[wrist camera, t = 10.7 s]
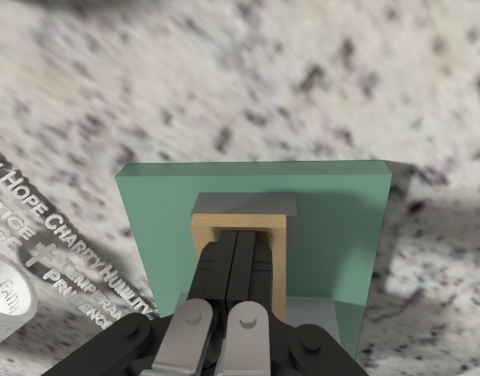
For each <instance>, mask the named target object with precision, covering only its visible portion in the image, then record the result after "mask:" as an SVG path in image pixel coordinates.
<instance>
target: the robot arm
mask: <svg viewBox="0 0 480 376" xmlns="http://www.w3.org/2000/svg"><path fill="white" fill-rule="evenodd" d="M196 268H197V269H196V271H195V274H194V277H193V280H192V283H191V287H190V290H189V293H188V296H187V299H186V301H185V302H183V303H182V304H181V305H180V306H179V307H178V308H177V309H176V311H175V313H173V314H171V315H169V316H166V317H162V318H158V319H154V320H149V318H148V317H147V316H146V315H144V314H142V313H130V314H127V315H125V316H123V317H121V318H120V319H119V320H117V321H116V322H114V323H113V324H112V325H110V326H109V327H107V328H106V329H105V330H103V331H102V332H101V333H99V334H98V335H96V336H95V337H94V338H92V339H91V340H89V341H88V342H87V343H85V344H84V345H83V346H81V347H80V348H78V349H77V350H76V351H74V352H73V353H71V354H70V355H69V356H67V357H66V358H65V359H63V360H62V361H60V362H59V363H58V364H56V365H55V366H53V367H52V368H51V369H49V370H48V371H47V372H45V373H44V374H42V375H41V376H217V375H218V370H219V366H220V362H221V350H222V344H223V339H226V347H225V358H224V370H223V376H369V375H368V374H367V373H366V372H365V371H364V370H363V369H362V368H361V367H360V366H359V365H358V364H357V362H356V361H355V360H354V359H353V358H352V357H351V356H350V355H349V354H348V353H347V352H346V351H345V350H344V349H343V348H342V347H341V346H340V344H339V343H338V342H337V341H336V340H335V339H334V338H333V337H332V336H331V335H330V334H329V333H328V332H327V331H326V330H325V329H324V328H322V327H320V326H318V325H315V324H302V325H300V326H298V327H293V326H291V325H288V324H286V323H283V322H282V321H280V320H279V319H278V318H276V316H275V315H274V314H273V312H272V291H273V258H272V250H271V248H270V246H269V244H268V243H257V242H256V231H239V233H238V231H237V230H221V233H220V236H219V240H218V242H208V244H207V245H206V246H205V247H204V248H203V249H202V251H201V255H200V258H199V261H198V264H197V267H196Z"/></svg>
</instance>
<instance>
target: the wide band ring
mask: <svg viewBox="0 0 480 376" xmlns="http://www.w3.org/2000/svg"><path fill="white" fill-rule="evenodd" d="M3 165H4V164H3V163H0V167H2V166H3ZM15 173H17V172H16V171H15V170H13V171H12V172H10V173H9V174H7V175H6V176H4V177H3V178H1V179H0V183H2V182H3V181H5V180H6V179H8V180H9V181H10V182H11V183H12V184H11V185H9V186H8V187H6V189H7V190H10V189H11V188H13V187H14V186H16V185H17V184H19V183H20V182H22V181H23V180H24V179H23V178H22V177H21V178H20V179H18V180H17V181H16V180H15V179H14V178H13V177H12V175H14V174H15ZM19 189H24V190H25V191H26V194H24V195H18V193H17V191H18V190H19ZM29 193H30V189H29V188H28V187H27V186H25V185H21V186H19V187H17V188H16V189H15V190H14V191H13V195H14V196H15V197H16V198H17V199H23V198H25V197H27V196H28V195H29ZM32 198H34V199H35V201H32V200H31V199H32ZM26 202H29V203H30V204H31V205H36V204H37V203H38V202H39V198H38V197H37V196H36V195H35V194H33V195H31V196H30V197H28V198H27V199H25V200H24V201H23V202H22V204H25V203H26ZM41 206H42V207H43V208H44V209H45V210H46V211H47V210H48V209H49V208H48V207H47V206H46V205H45V204H44V203H43V202H42V203H40V204H39V205H37V206H36V207H34V208H33V209H32V210H31V212H32V213H33V214H34V215H35V216H36V217H39V216H40V214H39V213H38V212H37V211H36V210H38V211H39V212H40V213H43V212H44V210H43V209H42V208H41ZM3 207H4V208H5V209H6V210H8V209H9V207H8V206H7V205H6V204H5V203H4V202H3V201H2V200H1V199H0V209H1V208H3ZM13 212H14V211H13V210H10V211H8V212H7V213H5V214H4V215H2V216H1V218H2V219H5V218H6V217H8V216H9V215H11V214H12V213H13ZM53 218H58V219H59V220H60V222H59V223H60V224H62V223H63V221H64V218H63V217H62V216H61V215H60V214H52V215H51V216H49V217H48V218H47V219H46V221H45V225H46V227H47V228H49V229H56V227H57V226H56V224H55V225H51V224H50V223H49V221H50V220H51V219H53ZM14 219H16V220H18V221H19V222H20V225H21V226H23V225H24V221H23V220H22V218H20V217H19V216H16V215H14V216H11V217H10V218H9V219H8V224H9V225H10V226H11V227H12V228H14V229H19V228H20V227H19V225H15V224H13V222H12V220H14ZM65 227H66V224H64V225H62V226H61V227H60V228H58V229H57V230H55V231H54V234H57V233H58V232H61V233H62V235H60V236H59V239H62V241H63V242H65V241H67V242H68V243H69V244H68V247H69V248H70V247H71V245H72V244H73V242H74V241H75V239H76V238H77V235H76V234H74V235H71V236H68V237H65V236H66V235H67V234H69V233H70V232H71V229H69V230H67V231H65V230H64V228H65ZM0 230H2V231H4V232H5V234H4V233H3V232H1V233H0V240H2V241H3V240H4V239H6V238H7V236H9V235H10V232H9V230H8V229H7V228H5V227H4V226H0ZM28 230H29V231H30V232H31V233H30V232H29V231H28ZM24 232H25V233H26V234H27V235H28V236H29V237H31V236H32V235H35V234H36V232H35V231H34V230H33V229H32V228H31V227H30V226H29V225H27V226H26V227H24V228H23V229H21V230H20V231H19V232H18V233H19V234H20V235H21V236H22V237H23V238H25V239H26V240H28V239H29V237H28V236H27V235H26V234H25V233H24ZM63 237H65V238H63ZM70 239H72V240H70ZM10 243H11V244H12V245H13V246H14V247H13V246H12V245H11V244H10ZM4 244H5V245H6V246H7V247H8V248H10V249H11V250H12V251H14V250H15V249H16V248H17V247H18V246H19V245H20V246H21V245H22V244H23V243H22V242H21V241H20V240H19V239H18V238H17V237H15V236H13V237H11V238H10V239H8V240H7V241H6V242H5V243H4ZM18 244H19V245H18ZM80 244H81V245H82V246H83V247H81V246H80ZM15 247H16V248H15ZM76 247H77V252H76V255H77V256H78V254H79V251H80V250H81V251H83V250H85V249H86V244H85V243H84V242H83V241H82V240H80V241H79V242H77V243H76V244H75V245H73V246H72V247H71V250H74V249H75V248H76ZM36 248H37V249H38V250H39V251H40V253H38V254H37V255H36V256H34V257H33V258H31V259H30V260H29V261H27V262H26V264H25V265H26V266H28V267H30V266H31V265H33V264H34V263H35V262H37V261H38V260H40V259H41V258H42V257H44V256H46V257H47V258H48V259H49V260H50V261H51V260H53V259H54V258H55V255H54V254H52V253H51V251H52V250H53V249H55V248H56V245H55V244H54V243H52V244H51V245H49V246H48V247H47V248H46V247H45V246H44V245H43V244H41V243H39V244H37V245H36ZM89 251H90V255H89V256H87V257H86V258H85V259H84V262H86V261H88V260H89V259H91V258H92V257H94V258H97V255H96V254H95V253H94V252H93V251H92V250H90V248H87V249H86V250H85V251H83V252H82V253H81V254H79V257H80V258H81V257H82V256H84V255H85V254H86V253H88V252H89ZM99 260H100V258H99V257H98V258H97V260H96V262H95V264H93V265H92V266H91V269H94V268H95V267H96V266H101V265H105V262H104V261H102V262H99ZM65 261H66V263H65V264H64V265H62V266H61V267H60V269H59V270H61V271H62V270H64V269H65V268H67V267H68V266H69V265H70V266H72V267H73V269H71V270H70V271H69V272H67V274H66V276H67V277H68V278H70V279H71V280H72V281H73V280H74V277H75V278H76V277H77V275H78V276H79V275H80V272H79V271H78V270H77V269H76V268H74V267H75V264H74V263H73V262H72V261H71V260H70V259H69V258H67V257H66V258H65ZM111 268H112V265H111V264H110V265H109V266H107V267H106V268H105V269H103V270H102V271H101V272H99V274H98V275H99V276H100V277H101V276H102V275H103V274H105V273H106V274H107V275H108V276H106V277H105V278H104V281H105V282H106V281H108V280H109V279H110V278H111V279H110V280H109V286H110V287H111V288H114V287H115V288H114V290H115V291H117V293H118V294H119V293H120V296H122V298H123V299H124V298H125V301H126V302H127V303H128V304H129V305H130V304H131V307H132V306H133V305H135V304H136V303H137V302H139V301H140V303H139V304H138V305H136V306H135V307H134V309H135V310H137V309H138V308H140V307H141V306H142V305H144V306H146V307H145V309H144V310H143V311H142V312H141V313H142V314H145V313H149V312H153V311H152V308H149V307H148V305H147V304H146V303H145V302H144V301H143V300H142V299H140V297H138V298H136V299H135V300H134V301H133V302H131V301H130V300H129V299H130V298H131V297H133V296H134V295H135V292H134V291H133V290H132V289H130V287H129V286H126V287H125V285H126V283H125V282H124V281H123V282H122V279H119V280H118V281H117V282H116V283H114V284H112V282H113V281H115V280H116V279H117V278H118V275H116V274H117V270H114V271H113V272H112V273H111V272H110V271H109V270H110V269H111ZM53 274H55V275H56V276H54V275H53ZM72 275H73V276H74V277H73V276H72ZM114 275H115V276H114ZM60 276H61V275H60V273H59V272H58V271H57V270H55V269H54V268H53V269H52V270H51V271H49V272H48V273H47V274H45V275H44V276H43V279H47V278H48V277H50V278H51V279H52V280H54V281H58V280H59V279H60ZM113 276H114V277H113ZM112 277H113V278H112ZM83 279H84V276H83V275H80V276H79V277H78V278H76V279H75V280H74V283H77V282H78V281H79V282H78V283H77V286H81V287H80V288H81V289H83V288H84V287H85V288H84V292H86V291H87V290H89V291H90V292H91V293H93V294H92V295H91V298H92V299H93V300H94V301H95V302H98V304H99V305H100V304H102V303H103V304H104V305H103V309H104V310H106V311H110V312H111V316H113V318H116V317H117V316H118V318H117V320H119V319H120V318H121V317H123V316H125V315H126V314H125V313H124V314H123V315H121V313H122V310H121V309H120V310H119V311H117V312H116V313H115V314H114V312H115V310H116V309H117V306H116V305H112V306H109V305H110V299H109V298H107V297H106V296H105V297H104V294H103V293H102V292H101V291H100V290H97V291H96V287H95V286H94V285H93V284H92V283H90V281H89V280H88V279H87V280H84V281H83ZM121 282H122V283H121ZM61 283H62V284H61ZM88 284H89V285H88ZM87 285H88V286H87ZM117 285H118V286H117ZM57 286H59V287H60V288H59V292H60V293H61V291H62V289H66V288H67V283H66V282H65V281H64V280H63V279H60V280H59V281H58V282H56V283H55V284H54V285H53V287H54V288H56V287H57ZM116 286H117V287H116ZM91 287H92V288H93V289H91ZM71 289H72V287H71V286H70V287H68V288H67V289H66V290H64V293H63V295H64V297H66V298H67V299H70V298H72V297H73V296H74V295H76V293H77V291H76V290H75V291H74V292H72V293H71V294H69V295H68V294H67V293H68V292H69V291H70V290H71ZM95 291H96V292H95ZM94 292H95V293H94ZM95 296H96V297H97V298H98V299H99V300H100V299H101V296H102V297H103V298H102V299H101V300H100V301H98V299H97V298H96V297H95ZM78 298H79V299H80V301H78V302H76V301H75V300H76V299H78ZM106 301H107V302H106ZM71 302H72V303H73V304H74V305H76V306H79V305H80V306H79V309H80V310H81V311H82V312H83V313H86V310H89V307H90V308H91V309H90V310H89V311H87V313H86V315H87V316H88V315H90V314H91V313H92V314H91V319H92V320H93V319H94V318H96V324H97V325H100V326H101V325H102V324H103V322H102V321H98V320H99V319H101V318H102V319H104V322H105V323H104V324H103V325H102V329H104V330H105V329H106V327H109V326H110V325H112V324H113V323H112V322H111V321H110V320H108V321H107V322H106V317H105V316H104V315H99V314H100V311H97V312H96V313H95V307H93V308H92V304H90V303H89V302H88V301H87V300H86V301H85V302H84V303H83V297H82V296H81V295H80V294H79V293H78V294H77V295H76V296H74V297H73V298H72V299H71ZM88 306H89V307H88ZM106 306H109V307H106ZM83 307H84V308H85V309H84V308H83ZM148 308H149V309H148ZM37 309H38V297H37V293H36V290H35V287H34V285H33V283H32V282H31V280H30V278H29V277H28V276H27V274H26V273H25V272H24V271H23V270H22V269H21V268H20V267H19V266H18V265H17V264H16V263H15V262H14V261H12V260H11V259H10V258H8V257H7V256H5V255H3V254H2V253H0V342H2V341H3V340H4V339H6V338H7V337H8V336H10V335H11V334H12V333H14V332H15V331H16V330H18V329H19V328H20V327H22V326H23V325H24V324H25V323H27V322H28V321H29V320H31V319H32V318H33V317H34V315H35V314H36V312H37ZM94 313H95V314H94ZM113 314H114V315H113Z"/></svg>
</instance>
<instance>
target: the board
mask: <svg viewBox="0 0 480 376" xmlns="http://www.w3.org/2000/svg"><path fill="white" fill-rule="evenodd" d="M392 175H393V174H392V173H391V171H390V169H389V168H388V166H387V165H386V163H385V161H384V160H361V161H291V162H222V163H152V164H126V165H125V166H124V167H123V169H122V170H121V171H120V172H119V173H118V174H117V175H116V176H115V179H116V182H117V185H118V188H119V191H120V194H121V197H122V200H123V203H124V206H125V210H126V213H127V216H128V219H129V222H130V225H131V228H132V231H133V234H134V237H135V240H136V244H137V247H138V250H139V253H140V256H141V259H142V262H143V265H144V268H145V271H146V275H147V278H148V281H149V284H150V287H151V290H152V293H153V296H154V299H155V302H156V305H157V309H158V312H159V315H160V318H162V317H166V316H169V315H171V314H173V313H175V311H176V309H177V308H178V307H179V306H180V305H181V304H182V303H183V302H185V301H186V299H187V296H188V293H189V290H190V287H191V283H192V280H193V277H194V274H195V271H196V269H197V268H196V267H197V264H198V259H197V255H196V251H195V247H194V243H193V239H192V235H191V231H190V227H189V226H190V223H191V220H192V217H193V215H194V214H286V324H288V325H291V326H293V327H298V326H300V325H302V324H315V325H318V326H320V327H322V328H324V329H325V330H326V331H327V332H328V333H329V334H330V335H331V336H332V337H333V338H334V339H335V340H336V341H337V342H338V343H339V344H340V346H341V347H342V348H343V349H344V350H345V351H346V352H347V353H348V354H349V355H350V356H351V357H352V358H353V359H354V360H355V355H356V350H357V345H358V340H359V336H360V331H361V326H362V321H363V316H364V311H365V306H366V301H367V297H368V292H369V287H370V282H371V277H372V272H373V267H374V262H375V257H376V253H377V248H378V243H379V238H380V233H381V228H382V223H383V218H384V214H385V209H386V204H387V199H388V194H389V189H390V184H391V179H392ZM225 347H226V339H223V344H222V350H221V362H220V366H219V370H218V375H217V376H223V370H224V358H225Z"/></svg>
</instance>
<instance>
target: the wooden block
mask: <svg viewBox="0 0 480 376" xmlns="http://www.w3.org/2000/svg"><path fill="white" fill-rule="evenodd" d="M189 227H190V231H191V235H192V239H193V243H194V247H195V251H196V255H197V259H198V261H199V258H200V255H201V251H202V249H203V248H204V247H205V246H206V245H207V244H208V242H218V240H219V236H220V233H221V230H237V231H238V233H239V231H256V242H257V243H268V244H269V246H270V248H271V250H272V258H273V291H272V312H273V314H274V315H275V316H276V318H278V319H279V320H280V321H282V322H283V323H286V214H194V215H193V217H192V220H191V223H190V226H189Z"/></svg>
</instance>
